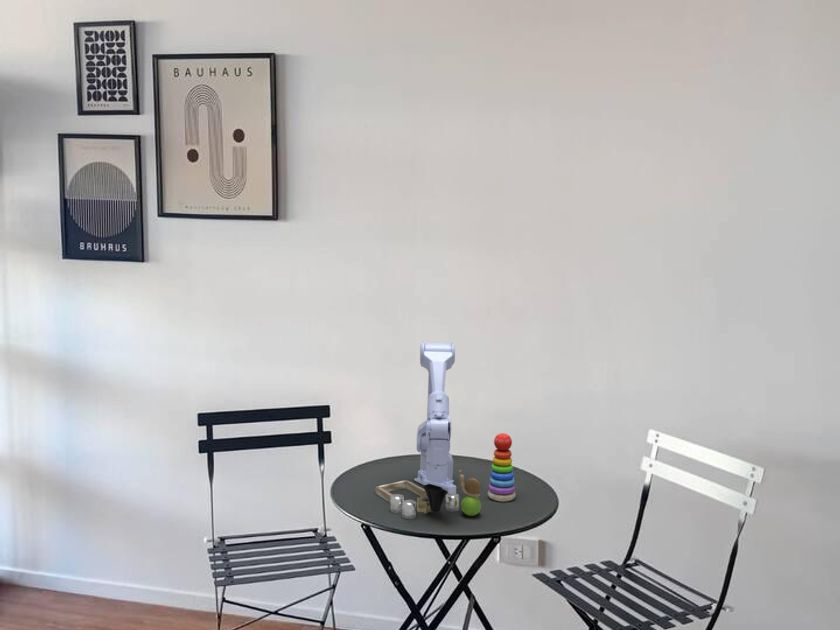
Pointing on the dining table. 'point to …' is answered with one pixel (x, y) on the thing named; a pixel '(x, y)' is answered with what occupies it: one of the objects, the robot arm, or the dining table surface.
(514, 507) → the dining table surface
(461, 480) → the snail figurine
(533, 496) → the dining table surface
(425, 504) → the brass nut
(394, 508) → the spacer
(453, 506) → the cylinder
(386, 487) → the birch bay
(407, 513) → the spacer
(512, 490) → the stacking toy
